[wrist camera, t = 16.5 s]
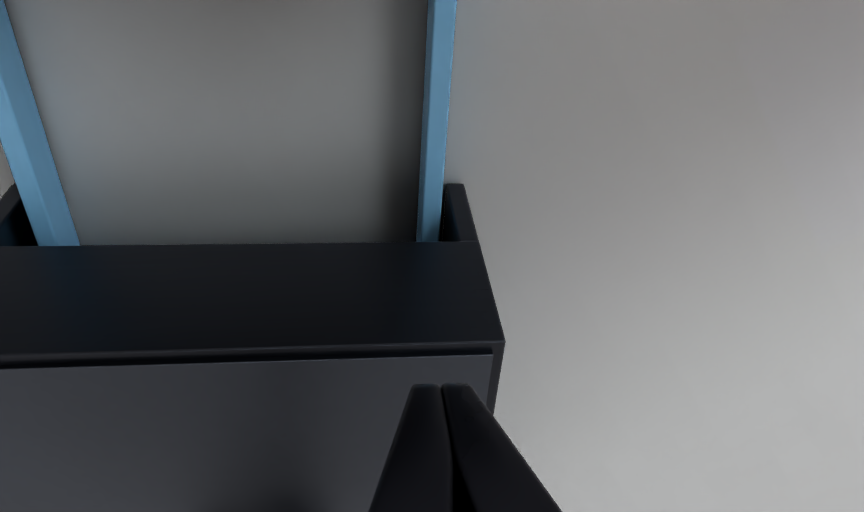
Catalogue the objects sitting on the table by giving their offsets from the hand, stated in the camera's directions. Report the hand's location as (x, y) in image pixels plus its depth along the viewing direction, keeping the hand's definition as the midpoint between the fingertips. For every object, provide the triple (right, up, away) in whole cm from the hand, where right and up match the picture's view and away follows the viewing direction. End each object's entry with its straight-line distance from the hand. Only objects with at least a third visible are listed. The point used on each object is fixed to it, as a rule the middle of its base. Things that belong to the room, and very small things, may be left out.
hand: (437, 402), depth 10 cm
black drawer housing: (-6, -1, +16) cm, 17 cm away
